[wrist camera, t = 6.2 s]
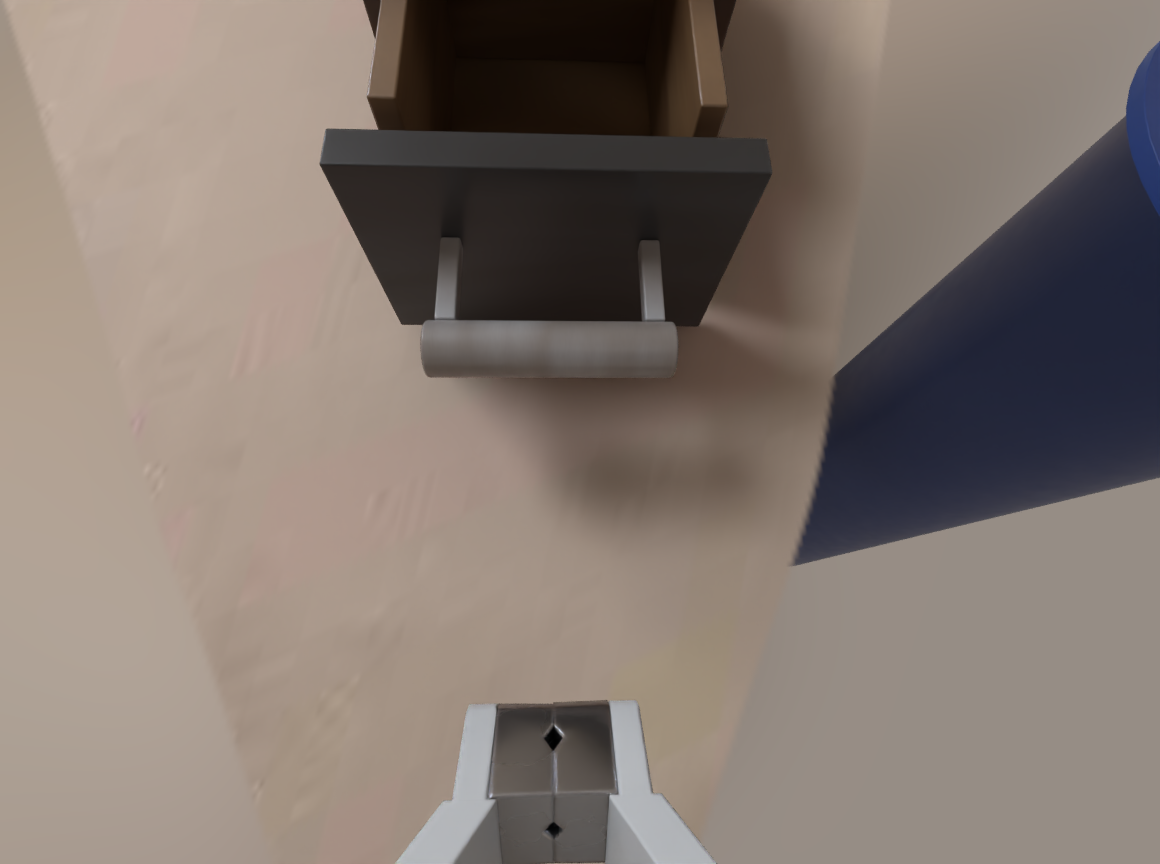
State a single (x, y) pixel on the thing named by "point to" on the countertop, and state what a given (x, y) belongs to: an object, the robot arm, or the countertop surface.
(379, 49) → the drawer
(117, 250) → the countertop surface
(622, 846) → the robot arm
